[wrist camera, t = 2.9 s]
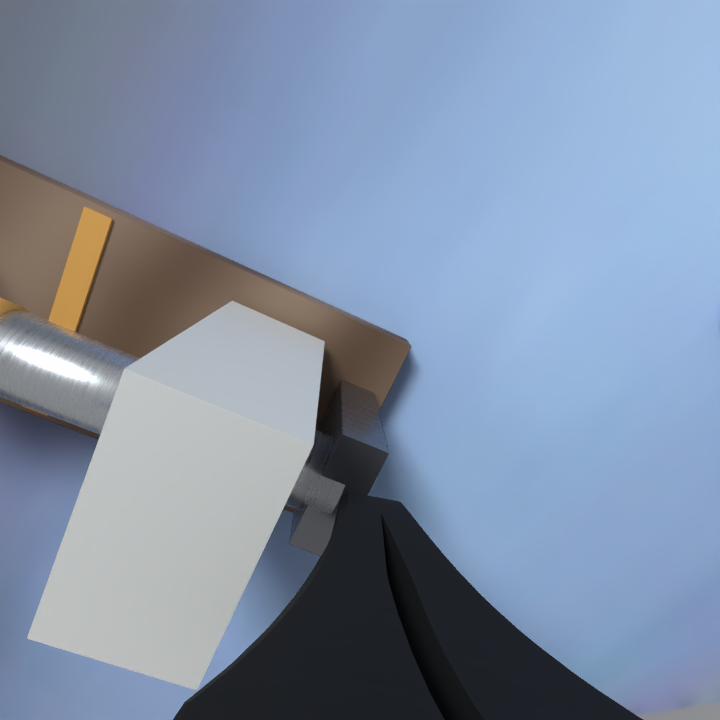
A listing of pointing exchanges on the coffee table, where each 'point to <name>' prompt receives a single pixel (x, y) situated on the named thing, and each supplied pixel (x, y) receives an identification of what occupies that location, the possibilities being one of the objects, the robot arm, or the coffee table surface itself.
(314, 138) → the coffee table surface
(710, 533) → the coffee table surface
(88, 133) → the coffee table surface
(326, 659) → the robot arm
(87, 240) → the rod jig
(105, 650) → the white block on rod
